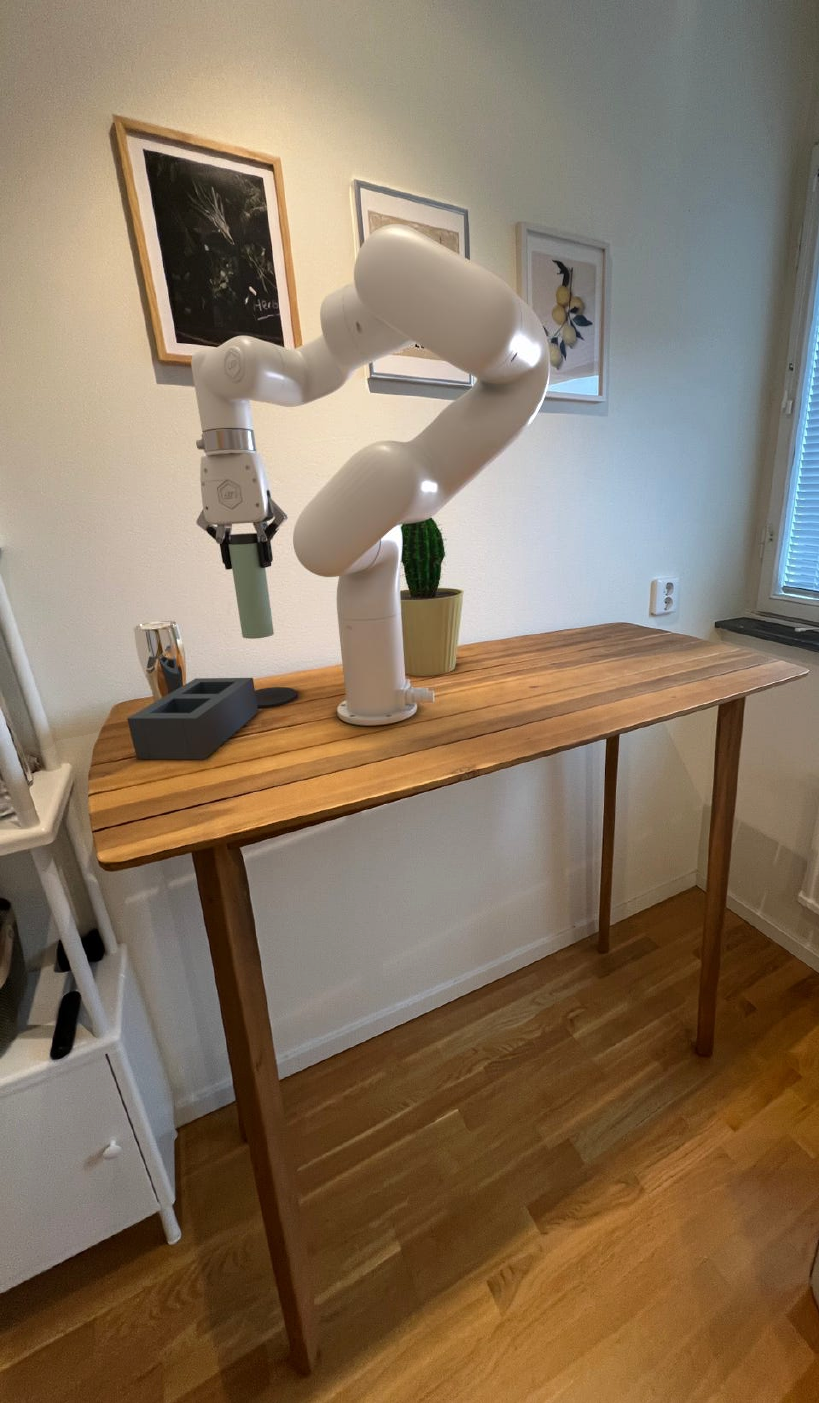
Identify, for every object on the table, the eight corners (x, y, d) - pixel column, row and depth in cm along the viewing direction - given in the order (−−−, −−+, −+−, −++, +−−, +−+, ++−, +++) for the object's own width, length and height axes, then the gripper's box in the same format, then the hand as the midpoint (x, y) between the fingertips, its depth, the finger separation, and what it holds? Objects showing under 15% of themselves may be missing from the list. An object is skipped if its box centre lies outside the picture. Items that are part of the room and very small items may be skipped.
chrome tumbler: (180, 720, 89) (161, 629, 84) (142, 719, 90) (121, 629, 85) (204, 705, 95) (187, 620, 90) (168, 705, 96) (150, 620, 91)
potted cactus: (459, 655, 117) (455, 506, 107) (471, 675, 103) (468, 505, 93) (387, 660, 116) (376, 511, 107) (389, 681, 102) (377, 511, 92)
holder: (258, 712, 90) (253, 677, 88) (204, 759, 73) (196, 718, 71) (202, 712, 92) (195, 678, 90) (136, 759, 75) (126, 718, 73)
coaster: (305, 689, 101) (305, 686, 101) (286, 708, 91) (285, 705, 91) (254, 689, 102) (253, 687, 102) (229, 708, 93) (229, 705, 93)
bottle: (278, 631, 95) (265, 532, 90) (266, 638, 90) (252, 533, 85) (250, 632, 96) (235, 533, 90) (237, 638, 91) (221, 535, 86)
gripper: (165, 447, 81) (188, 572, 87) (274, 438, 79) (291, 568, 85) (191, 452, 88) (211, 567, 94) (292, 443, 86) (306, 563, 92)
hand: (248, 566), depth 89 cm, fingers closed on bottle, 5 cm apart
